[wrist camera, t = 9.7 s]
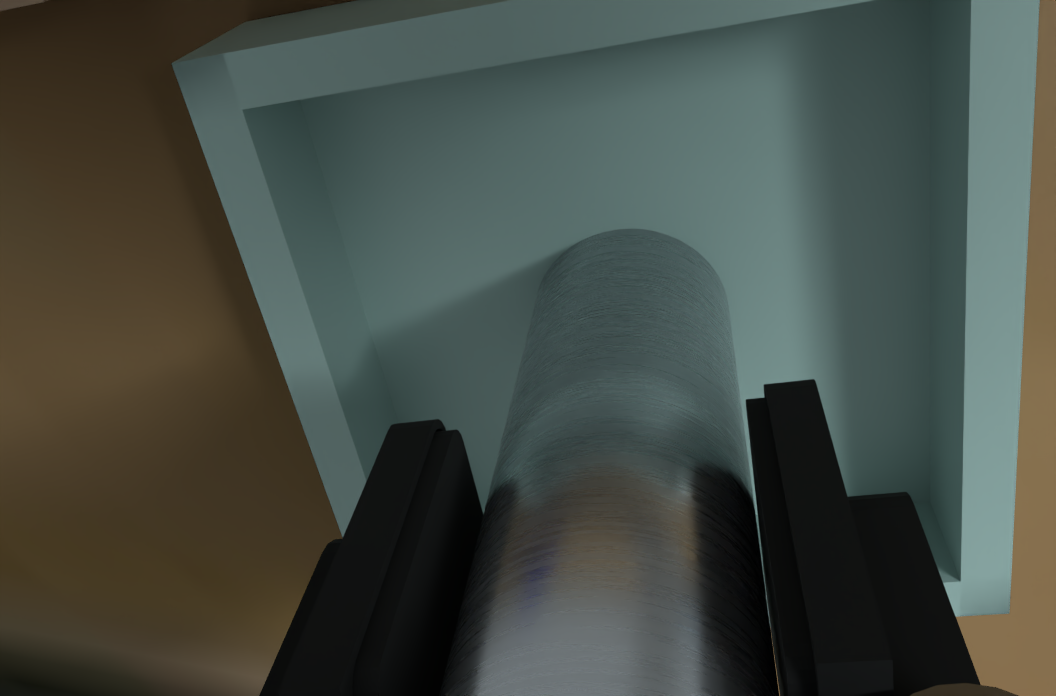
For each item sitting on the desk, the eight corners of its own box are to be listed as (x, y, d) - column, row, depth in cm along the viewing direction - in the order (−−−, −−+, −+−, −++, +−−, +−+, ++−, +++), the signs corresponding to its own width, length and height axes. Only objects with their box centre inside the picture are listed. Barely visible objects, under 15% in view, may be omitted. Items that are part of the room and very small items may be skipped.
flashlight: (745, 186, 14) (923, 1031, 4) (764, 409, 16) (919, 1348, 6) (486, 221, 15) (169, 1011, 5) (533, 430, 16) (361, 1302, 7)
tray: (976, -119, 12) (1043, -99, 10) (964, 508, 17) (1009, 612, 15) (244, 22, 14) (171, 64, 12) (414, 550, 19) (382, 648, 17)
